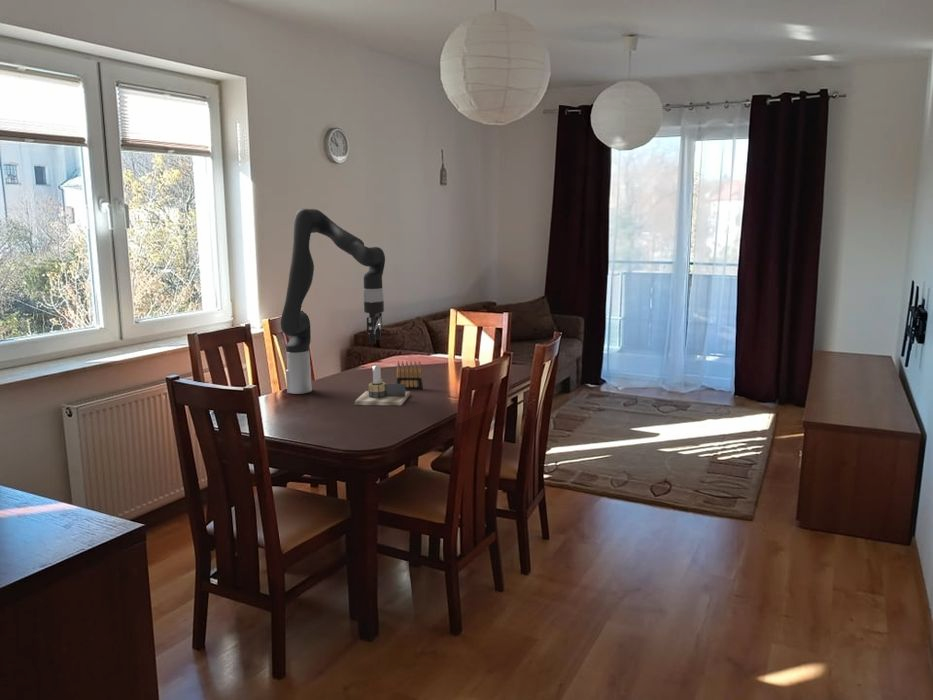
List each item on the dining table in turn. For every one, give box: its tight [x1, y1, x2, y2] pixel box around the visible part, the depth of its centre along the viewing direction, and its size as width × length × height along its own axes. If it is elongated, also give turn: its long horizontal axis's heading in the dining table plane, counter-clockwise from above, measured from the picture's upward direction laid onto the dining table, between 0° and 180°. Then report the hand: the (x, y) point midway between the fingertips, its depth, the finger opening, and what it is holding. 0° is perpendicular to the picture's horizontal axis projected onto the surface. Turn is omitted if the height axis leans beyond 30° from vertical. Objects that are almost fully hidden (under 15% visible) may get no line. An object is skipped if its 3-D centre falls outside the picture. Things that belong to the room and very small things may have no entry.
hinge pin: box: [372, 365, 382, 385], centre depth 286 cm, size 3×3×12 cm
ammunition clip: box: [396, 360, 424, 391], centre depth 302 cm, size 11×2×12 cm, turn 84°
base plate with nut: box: [354, 378, 411, 406], centre depth 286 cm, size 18×16×6 cm
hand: (375, 341), depth 283 cm, fingers open, 8 cm apart
